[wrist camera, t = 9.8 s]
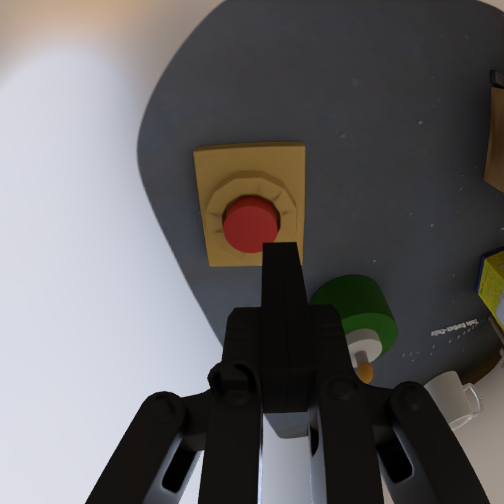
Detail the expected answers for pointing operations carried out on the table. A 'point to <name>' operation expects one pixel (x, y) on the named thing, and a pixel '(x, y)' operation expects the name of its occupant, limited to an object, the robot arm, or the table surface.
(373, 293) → the candle
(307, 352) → the robot arm
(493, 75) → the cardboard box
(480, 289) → the supplement box
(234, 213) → the button
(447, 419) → the cup
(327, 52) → the table surface
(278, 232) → the button housing
